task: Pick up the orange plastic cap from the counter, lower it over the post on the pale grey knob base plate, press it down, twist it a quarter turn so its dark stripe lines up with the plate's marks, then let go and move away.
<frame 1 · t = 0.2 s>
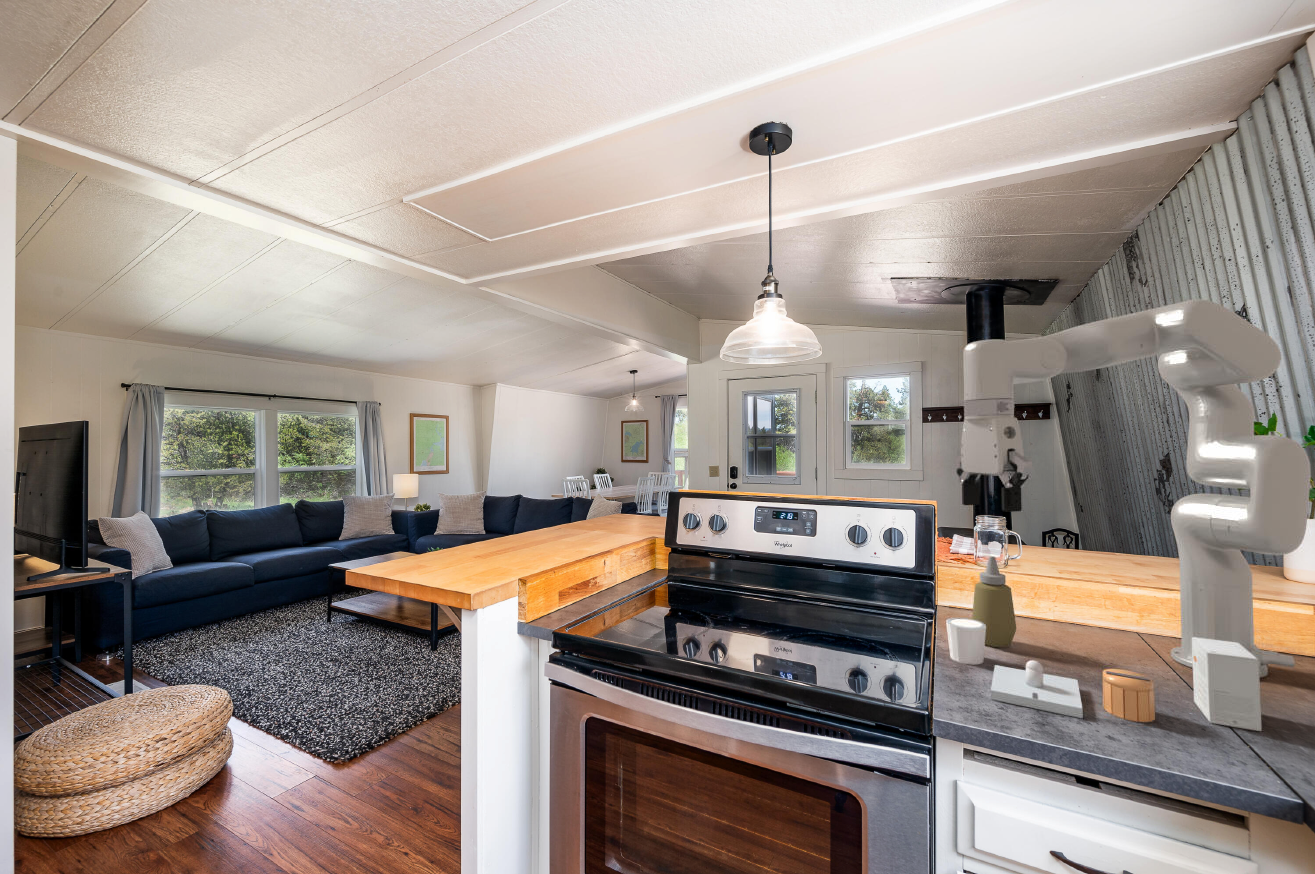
hand: (990, 507, 98), 31 cm above the countertop, tool pointing down, fingers open, 9 cm apart
knob base plate: (1034, 693, 93), on the countertop
squeeze bottle: (994, 644, 116), on the countertop
small box: (1225, 717, 84), on the countertop
cap: (1128, 712, 86), on the countertop
white cup: (966, 659, 108), on the countertop
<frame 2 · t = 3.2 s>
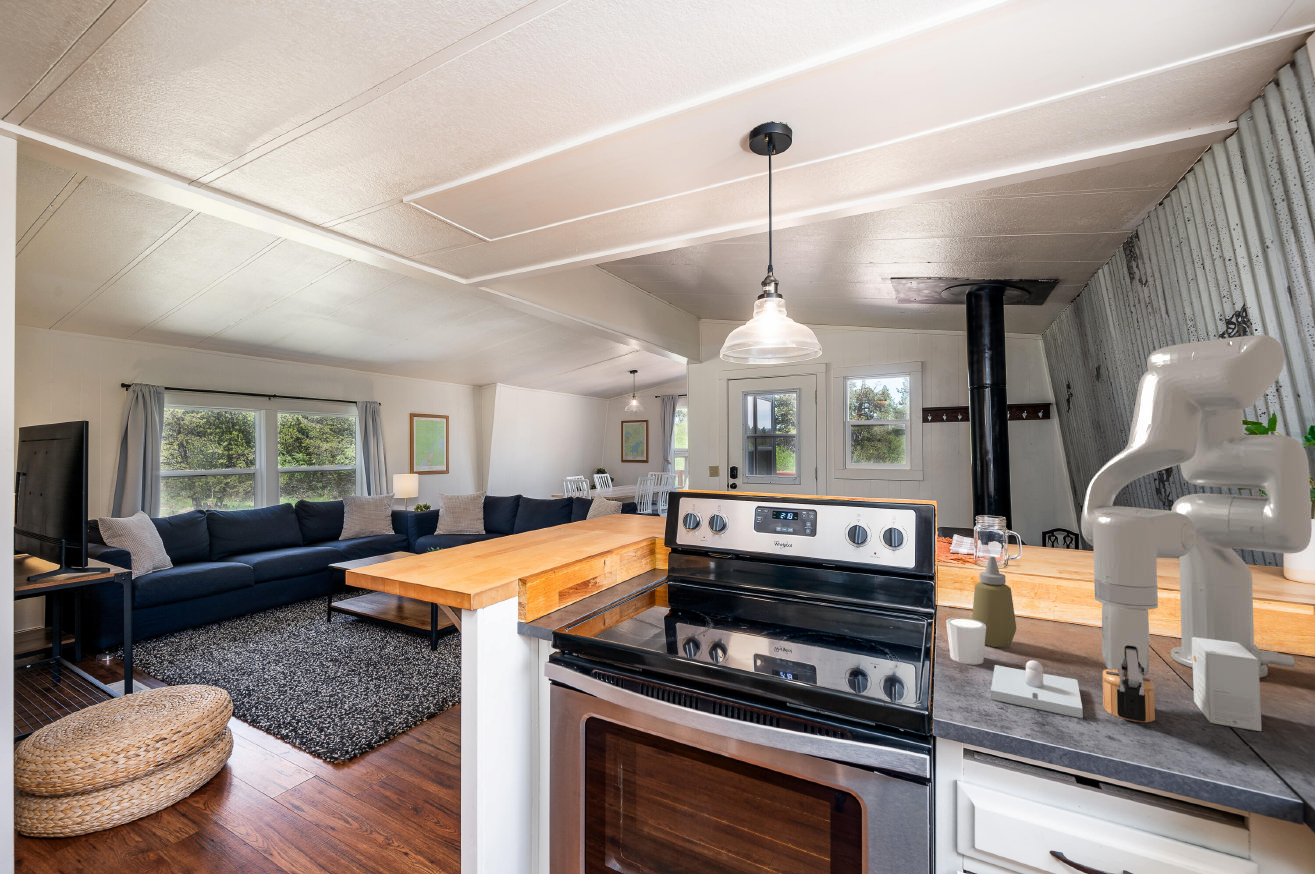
hand: (1128, 708, 86), 1 cm above the countertop, tool pointing down, fingers closed on cap, 6 cm apart
cap: (1128, 712, 86), on the countertop, touching gripper
everything else where it was.
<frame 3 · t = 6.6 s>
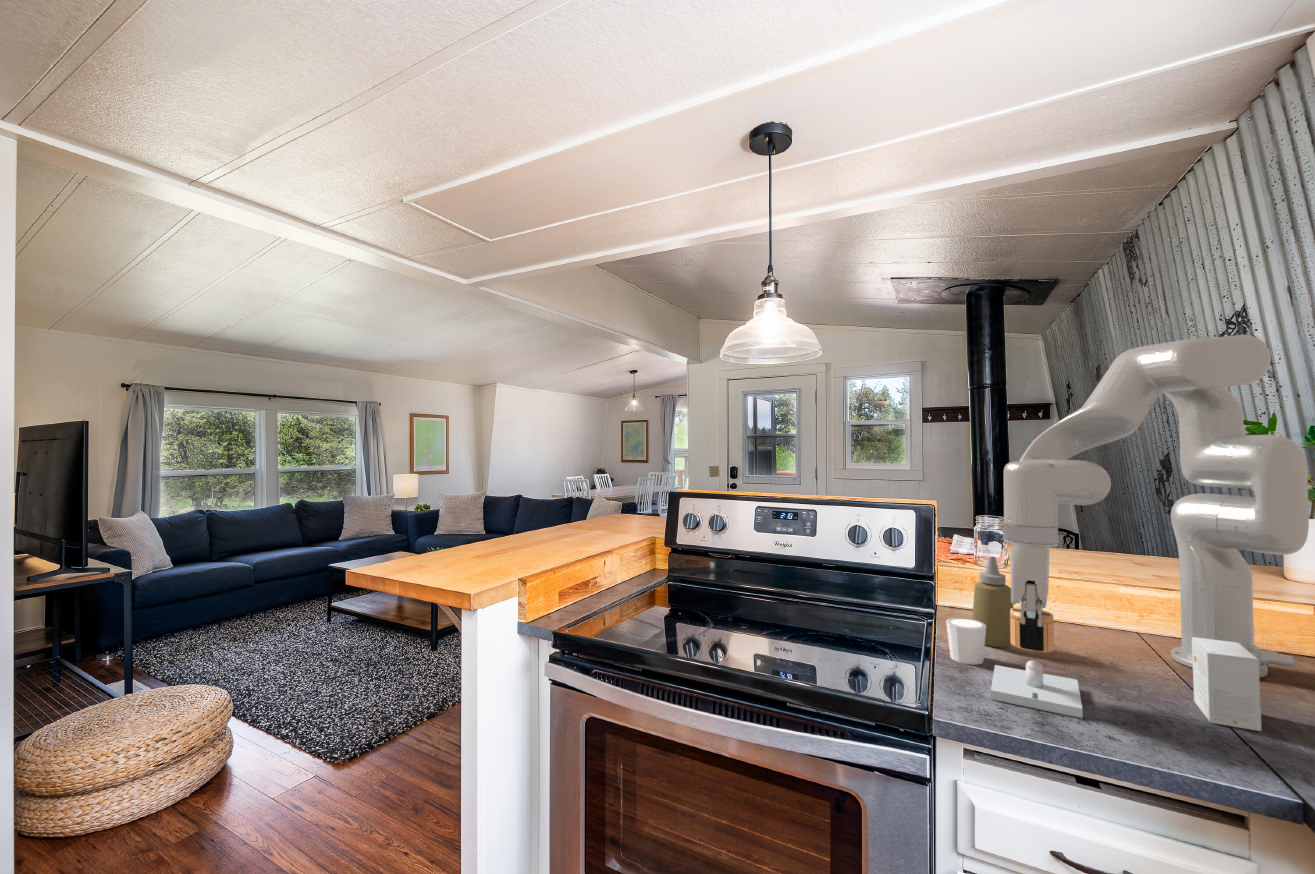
hand: (1031, 641, 93), 9 cm above the countertop, tool pointing down, fingers closed on cap, 6 cm apart
cap: (1031, 645, 93), point 8 cm above the countertop, touching gripper
everything else where it was.
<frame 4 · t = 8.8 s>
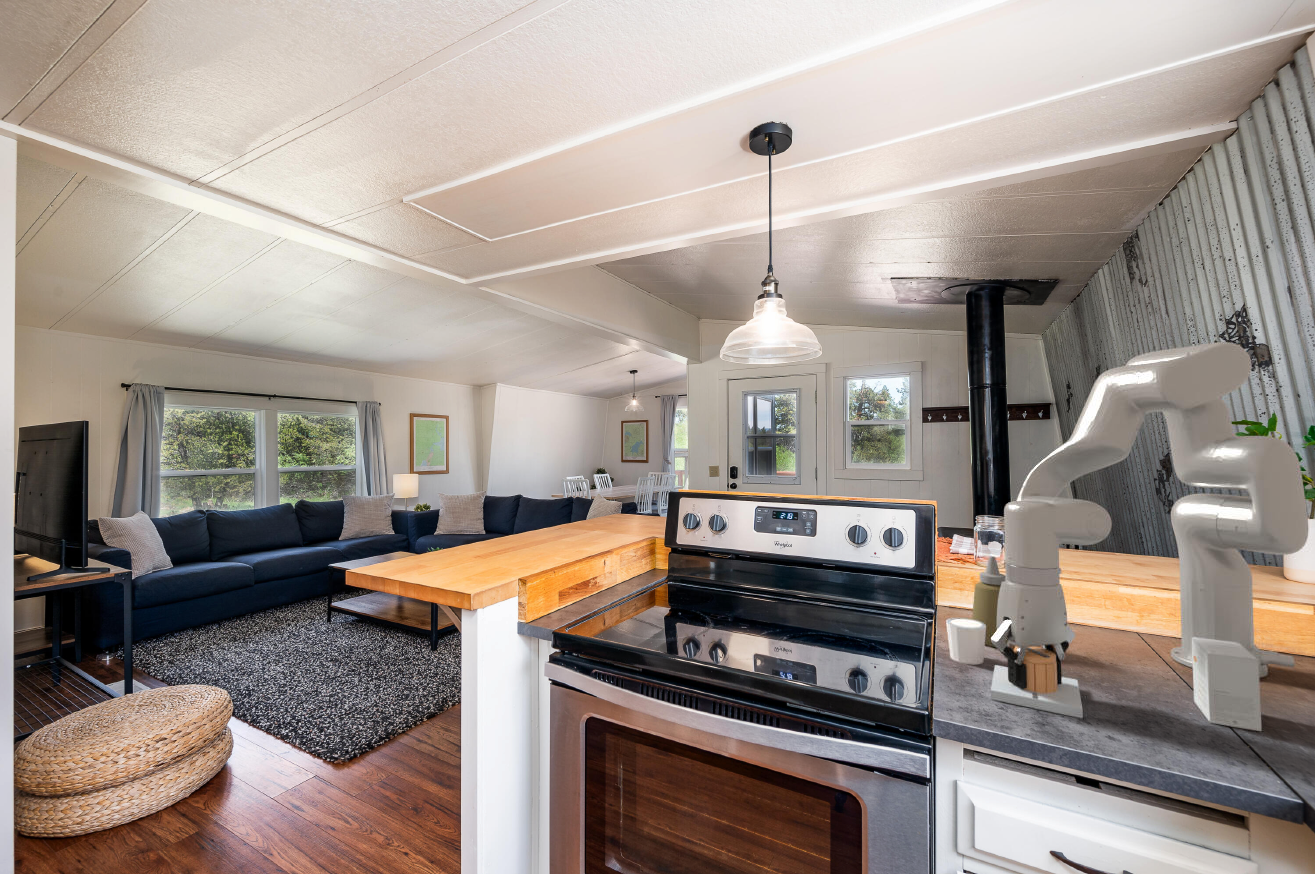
hand: (1034, 681, 93), 2 cm above the countertop, tool pointing down, fingers closed on cap, 6 cm apart
cap: (1034, 684, 93), point 2 cm above the countertop, touching gripper
everything else where it was.
when the fingers open (2 cm above the countertop, at t = 10.3 s): cap stays where it is, resting on knob base plate.
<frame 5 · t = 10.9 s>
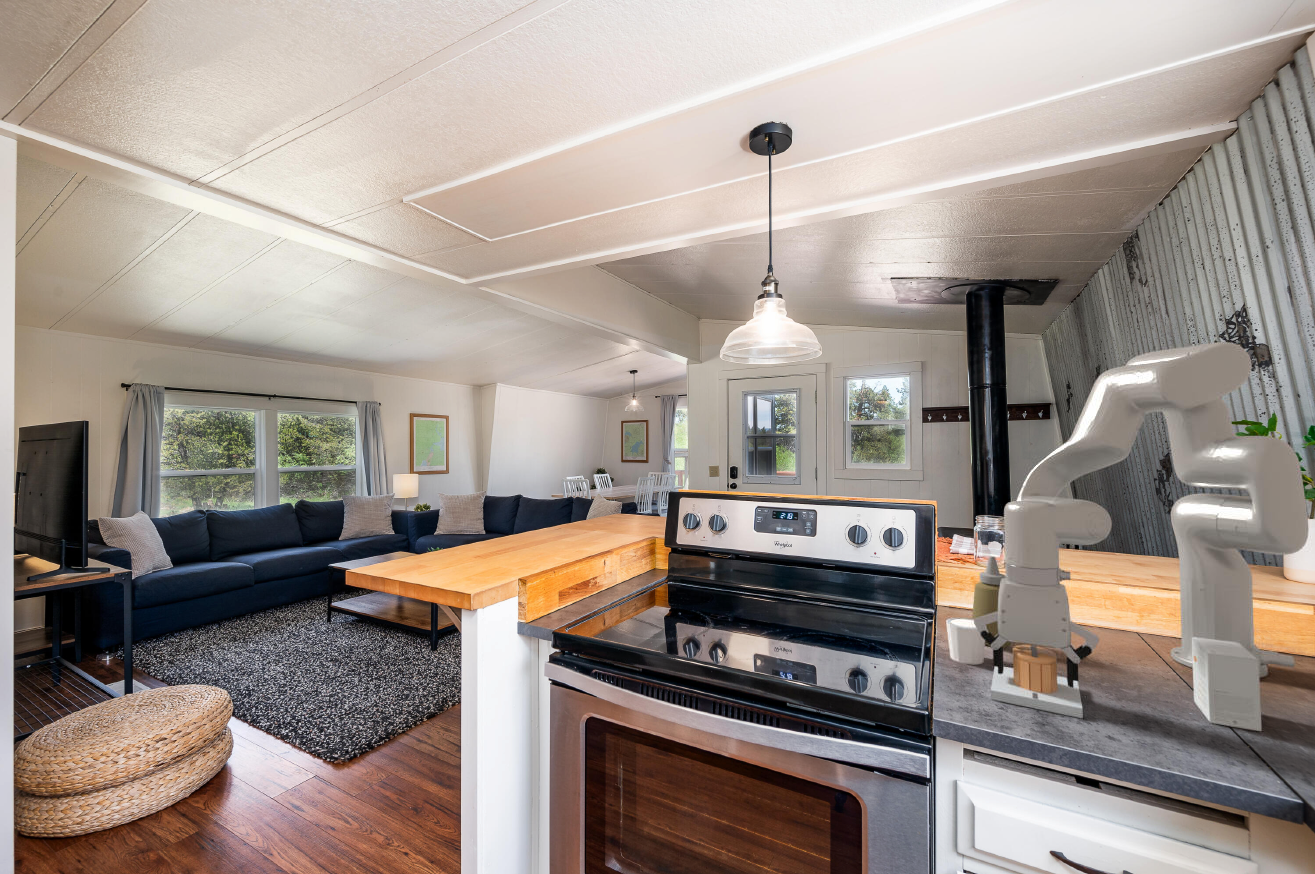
hand: (1034, 677, 93), 3 cm above the countertop, tool pointing down, fingers open, 9 cm apart
cap: (1035, 684, 93), point 1 cm above the countertop, touching knob base plate
everything else where it was.
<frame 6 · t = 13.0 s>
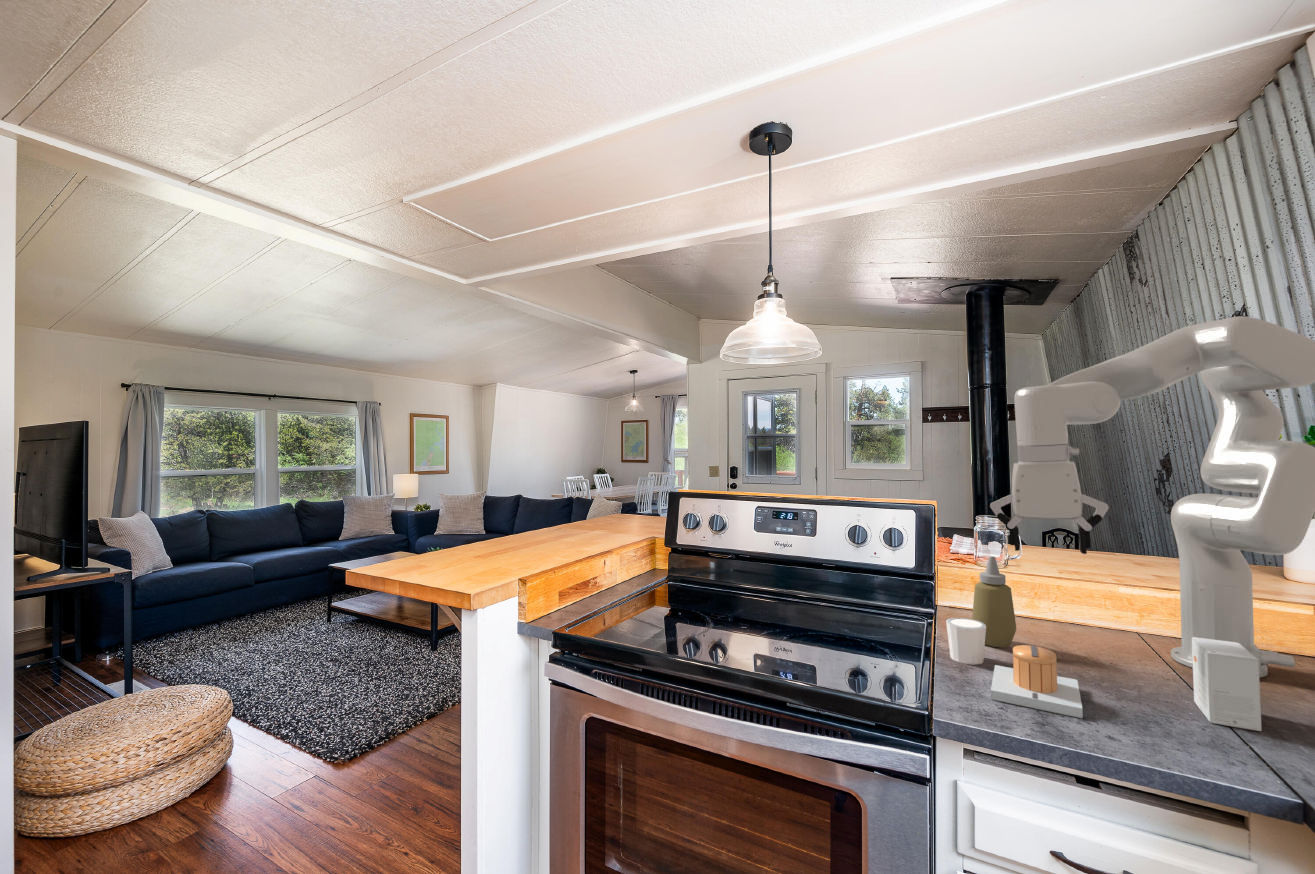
hand: (1049, 550, 99), 23 cm above the countertop, tool pointing down, fingers open, 9 cm apart
nothing on the countertop moved.
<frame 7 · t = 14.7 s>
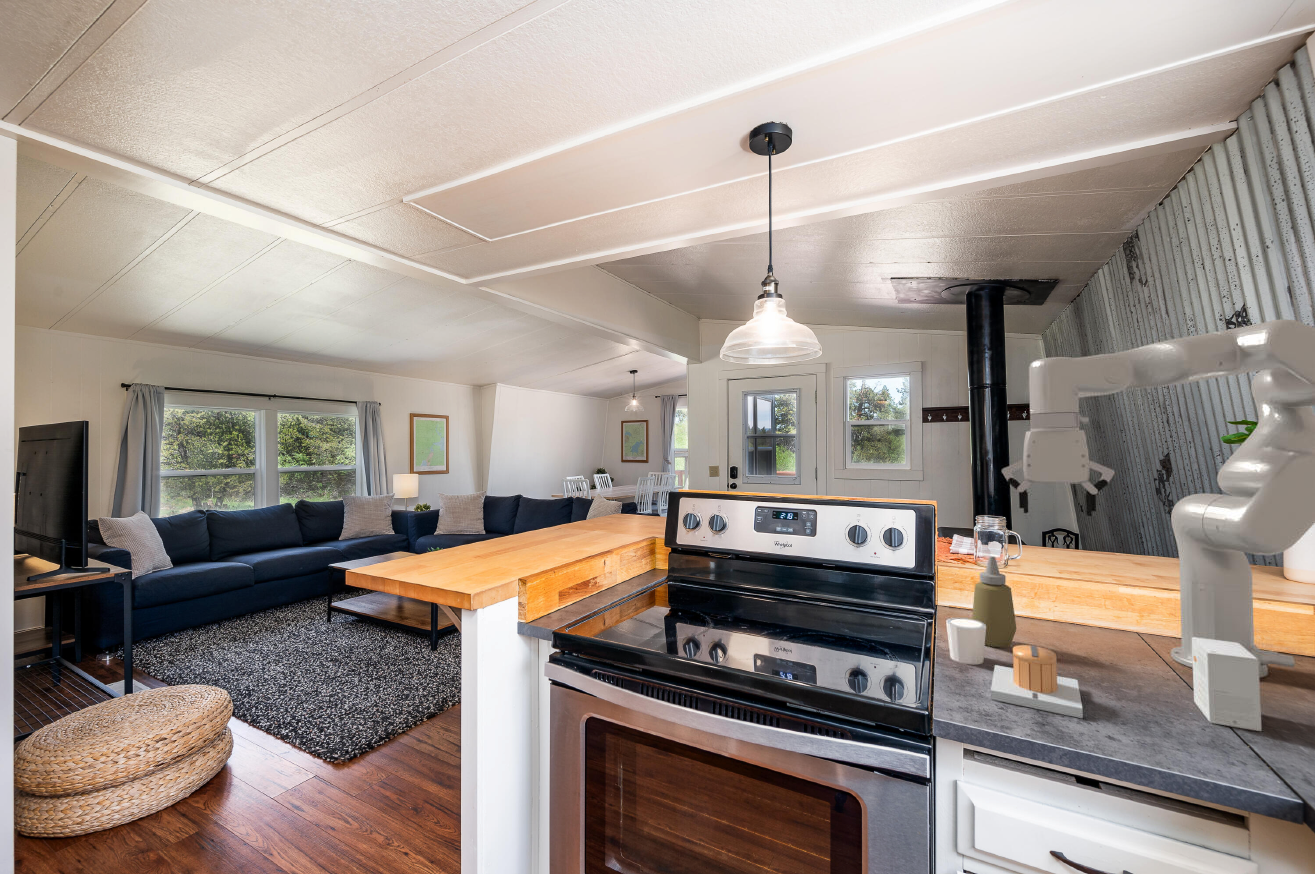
hand: (1056, 513, 105), 28 cm above the countertop, tool pointing down, fingers open, 9 cm apart
nothing on the countertop moved.
at the end: cap 0.1 cm from the knob base plate (horizontally); cap point 1.5 cm above the countertop; the gripper is holding nothing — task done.
